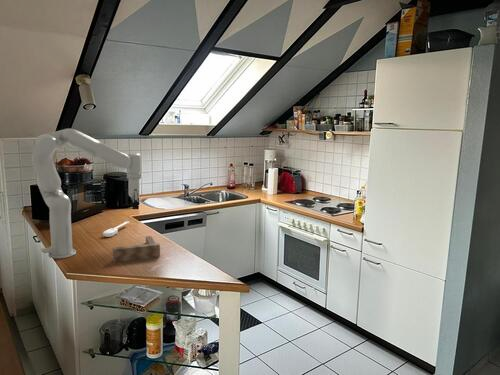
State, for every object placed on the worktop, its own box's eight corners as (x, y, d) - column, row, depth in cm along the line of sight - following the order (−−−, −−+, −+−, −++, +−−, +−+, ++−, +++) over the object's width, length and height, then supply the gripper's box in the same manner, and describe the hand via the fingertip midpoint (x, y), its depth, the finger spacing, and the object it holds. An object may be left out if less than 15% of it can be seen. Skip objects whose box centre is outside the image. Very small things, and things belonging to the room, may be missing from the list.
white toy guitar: (124, 225, 250) (124, 221, 250) (132, 225, 249) (132, 221, 249) (100, 237, 223) (100, 232, 223) (109, 238, 222) (109, 233, 222)
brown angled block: (113, 262, 185) (113, 249, 184) (109, 246, 209) (109, 234, 208) (159, 257, 194) (159, 244, 193) (151, 241, 218) (151, 230, 216)
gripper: (125, 174, 218) (126, 204, 221) (128, 178, 202) (129, 211, 205) (138, 173, 221) (139, 204, 224) (143, 177, 205) (144, 210, 208)
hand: (134, 207), depth 215 cm, fingers open, 6 cm apart
